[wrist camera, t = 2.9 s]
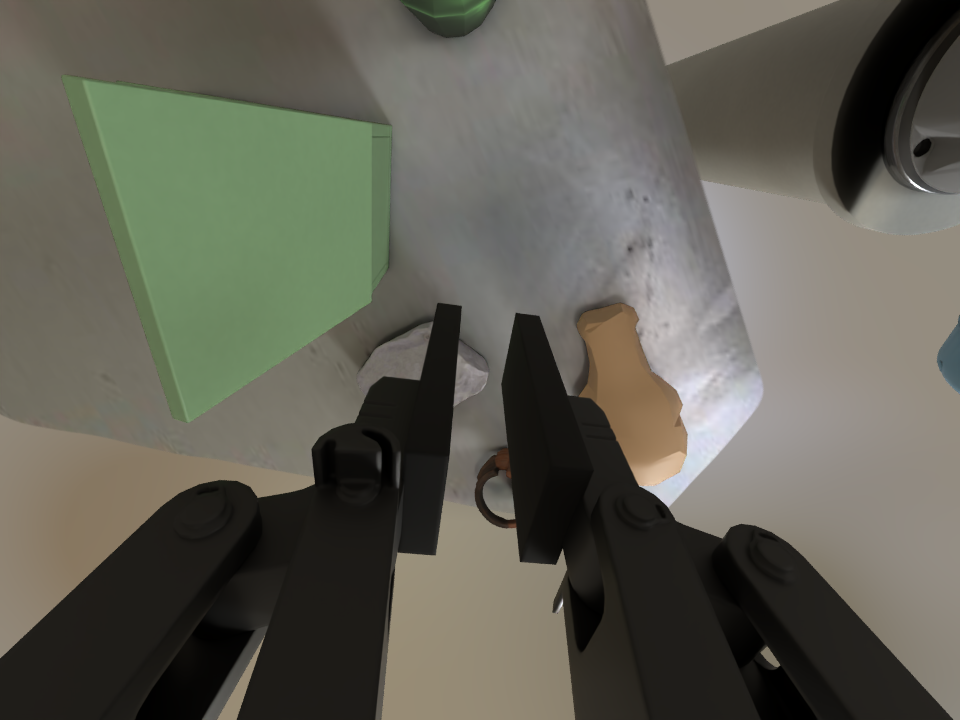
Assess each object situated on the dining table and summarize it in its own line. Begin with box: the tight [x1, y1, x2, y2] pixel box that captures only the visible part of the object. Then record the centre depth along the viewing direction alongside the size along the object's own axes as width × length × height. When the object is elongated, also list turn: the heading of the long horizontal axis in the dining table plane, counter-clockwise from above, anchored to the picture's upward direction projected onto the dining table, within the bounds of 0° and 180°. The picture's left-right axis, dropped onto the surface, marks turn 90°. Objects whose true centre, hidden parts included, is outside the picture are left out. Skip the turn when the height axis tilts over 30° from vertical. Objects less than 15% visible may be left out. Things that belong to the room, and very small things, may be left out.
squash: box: [577, 303, 688, 486], centre depth 39 cm, size 11×20×9 cm, turn 22°
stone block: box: [357, 321, 489, 407], centre depth 40 cm, size 12×5×10 cm
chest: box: [116, 81, 392, 292], centre depth 29 cm, size 15×12×8 cm
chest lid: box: [61, 75, 372, 423], centre depth 19 cm, size 15×12×1 cm
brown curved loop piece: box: [475, 448, 516, 528], centre depth 47 cm, size 12×10×8 cm
